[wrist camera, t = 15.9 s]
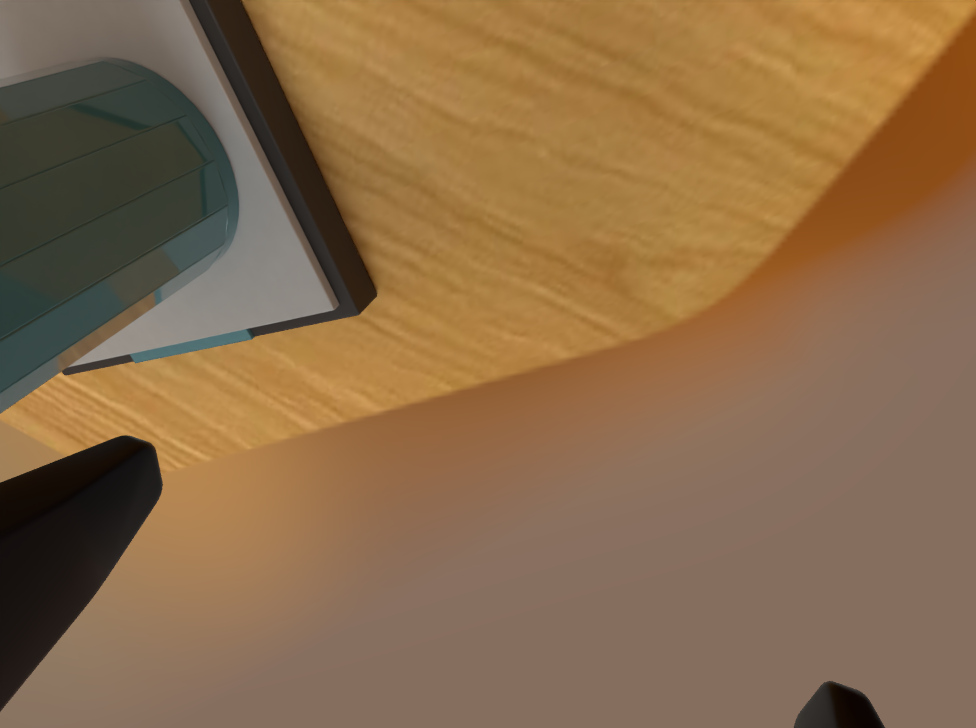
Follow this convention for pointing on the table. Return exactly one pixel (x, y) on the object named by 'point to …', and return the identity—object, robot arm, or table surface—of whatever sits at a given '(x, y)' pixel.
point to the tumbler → (99, 209)
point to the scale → (252, 154)
